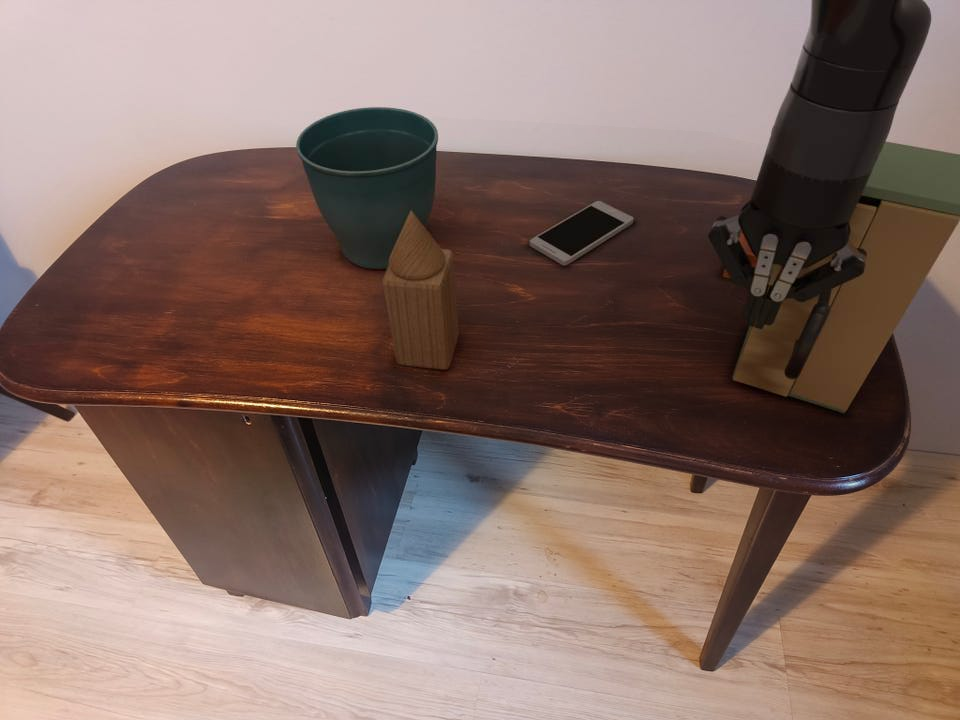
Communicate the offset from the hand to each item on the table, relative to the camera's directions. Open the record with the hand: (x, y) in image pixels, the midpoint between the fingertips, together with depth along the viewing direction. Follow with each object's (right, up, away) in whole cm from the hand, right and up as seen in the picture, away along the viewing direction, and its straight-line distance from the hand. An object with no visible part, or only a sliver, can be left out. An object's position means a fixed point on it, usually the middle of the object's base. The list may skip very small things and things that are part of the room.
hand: (756, 322), depth 60 cm
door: (+4, -8, +9) cm, 13 cm away
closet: (+11, -5, +14) cm, 18 cm away
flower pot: (-40, +13, +34) cm, 54 cm away
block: (+10, +8, +27) cm, 30 cm away
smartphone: (-11, +15, +34) cm, 39 cm away
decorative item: (-32, -3, +18) cm, 37 cm away
